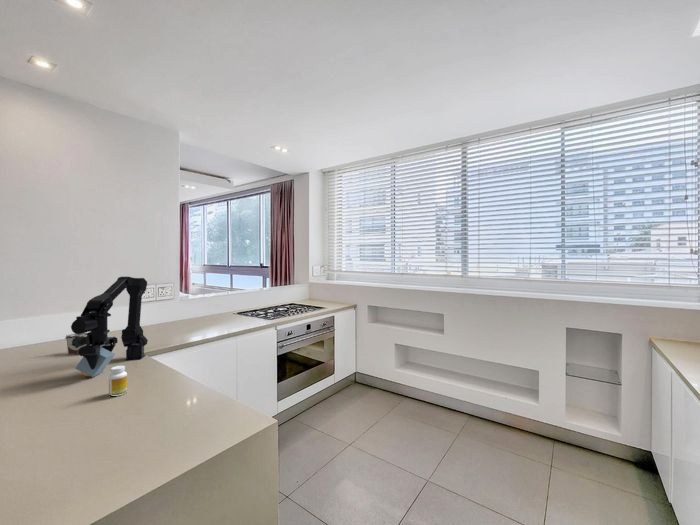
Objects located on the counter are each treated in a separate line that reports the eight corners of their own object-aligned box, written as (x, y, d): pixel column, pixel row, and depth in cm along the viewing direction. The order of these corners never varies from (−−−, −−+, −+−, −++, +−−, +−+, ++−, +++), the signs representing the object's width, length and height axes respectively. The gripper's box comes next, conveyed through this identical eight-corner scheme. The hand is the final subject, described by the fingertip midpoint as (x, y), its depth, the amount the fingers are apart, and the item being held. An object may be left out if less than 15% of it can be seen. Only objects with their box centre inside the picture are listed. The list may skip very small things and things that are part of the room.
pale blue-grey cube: (102, 372, 136) (115, 353, 138) (92, 377, 129) (106, 357, 130) (85, 363, 135) (98, 345, 136) (74, 368, 127) (89, 349, 129)
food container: (98, 351, 168) (97, 332, 168) (87, 354, 162) (86, 335, 162) (77, 350, 169) (76, 332, 169) (65, 354, 163) (65, 335, 163)
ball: (86, 362, 133) (85, 373, 134) (78, 366, 129) (78, 378, 129) (99, 361, 135) (99, 373, 135) (92, 366, 130) (92, 378, 130)
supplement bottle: (131, 392, 115) (130, 365, 115) (116, 398, 110) (115, 370, 110) (120, 390, 117) (120, 364, 117) (105, 396, 112) (104, 369, 111)
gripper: (89, 325, 140) (89, 360, 140) (61, 334, 121) (61, 375, 121) (118, 324, 142) (118, 358, 142) (95, 333, 124) (95, 372, 124)
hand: (98, 365), depth 132 cm, fingers open, 9 cm apart
